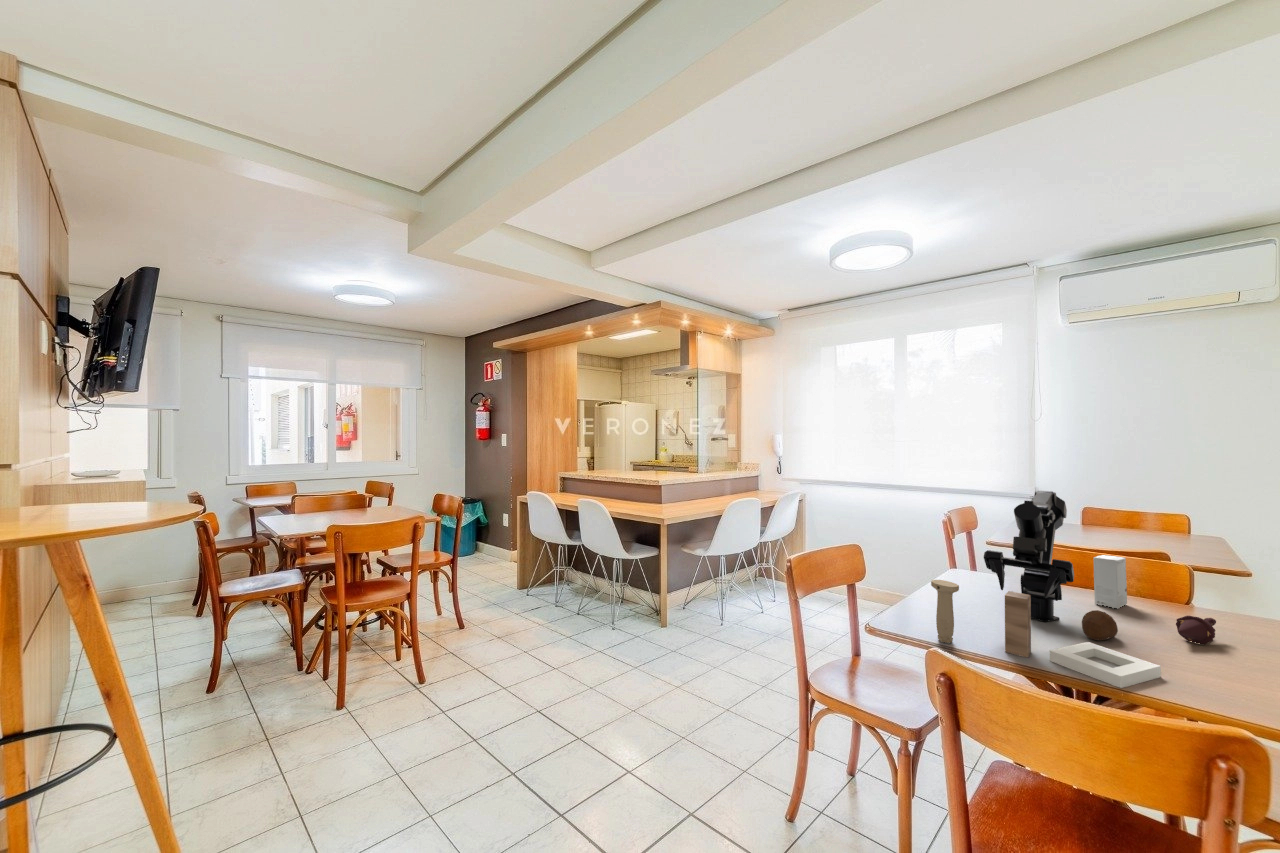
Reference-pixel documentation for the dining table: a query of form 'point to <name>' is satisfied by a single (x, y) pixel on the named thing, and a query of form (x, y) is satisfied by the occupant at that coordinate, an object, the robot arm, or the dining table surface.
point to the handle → (945, 609)
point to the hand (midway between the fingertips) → (1023, 593)
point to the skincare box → (1110, 581)
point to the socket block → (1105, 664)
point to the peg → (1018, 623)
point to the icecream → (1196, 629)
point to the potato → (1099, 625)
